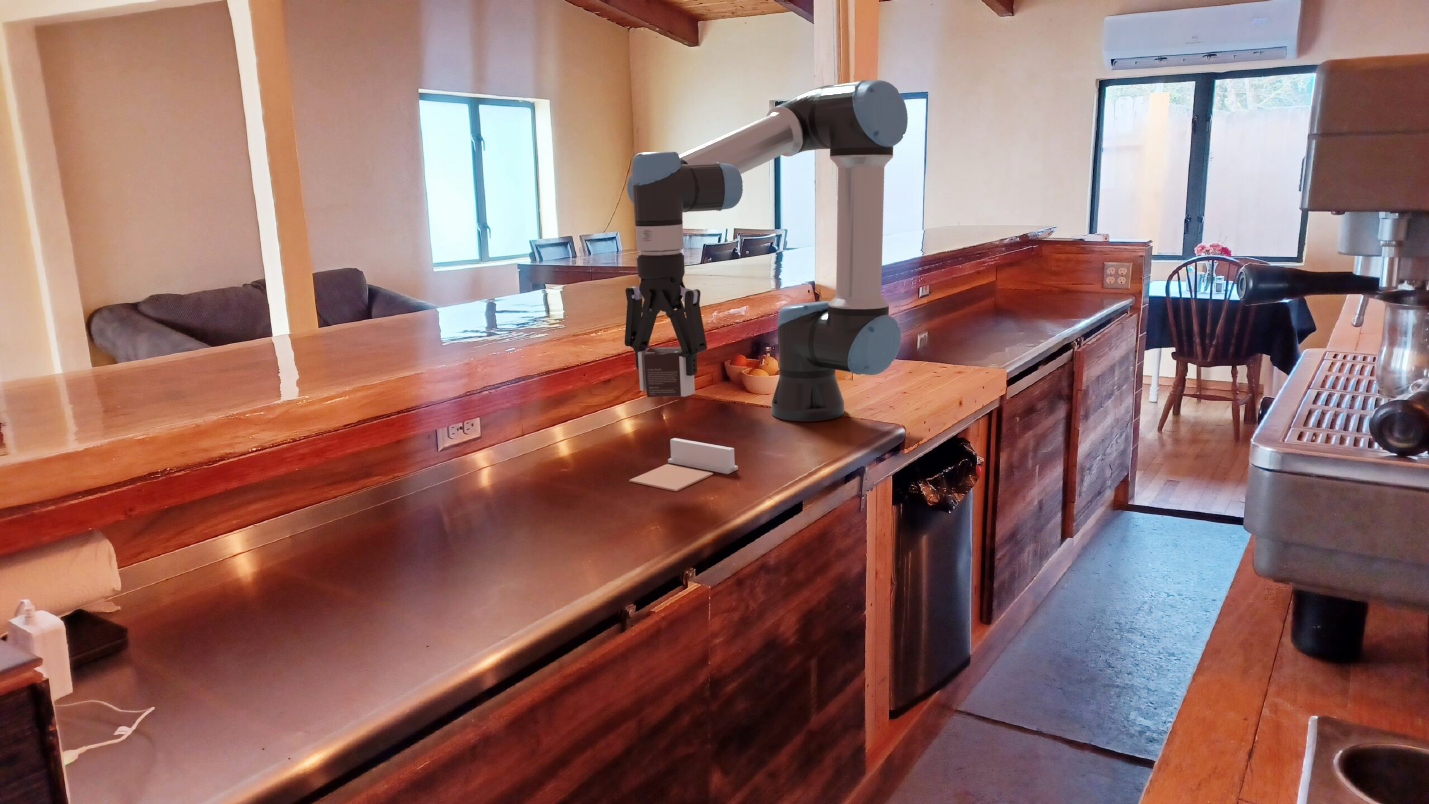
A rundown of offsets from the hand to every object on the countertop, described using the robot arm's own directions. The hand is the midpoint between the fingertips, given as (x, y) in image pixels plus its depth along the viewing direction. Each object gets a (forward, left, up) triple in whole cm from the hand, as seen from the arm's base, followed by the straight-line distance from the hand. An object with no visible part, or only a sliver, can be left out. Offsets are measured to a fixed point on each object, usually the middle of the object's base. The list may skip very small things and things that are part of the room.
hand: (667, 391), depth 155 cm
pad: (0, 0, -15) cm, 15 cm away
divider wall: (-8, +1, -15) cm, 17 cm away
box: (0, 0, -1) cm, 1 cm away
